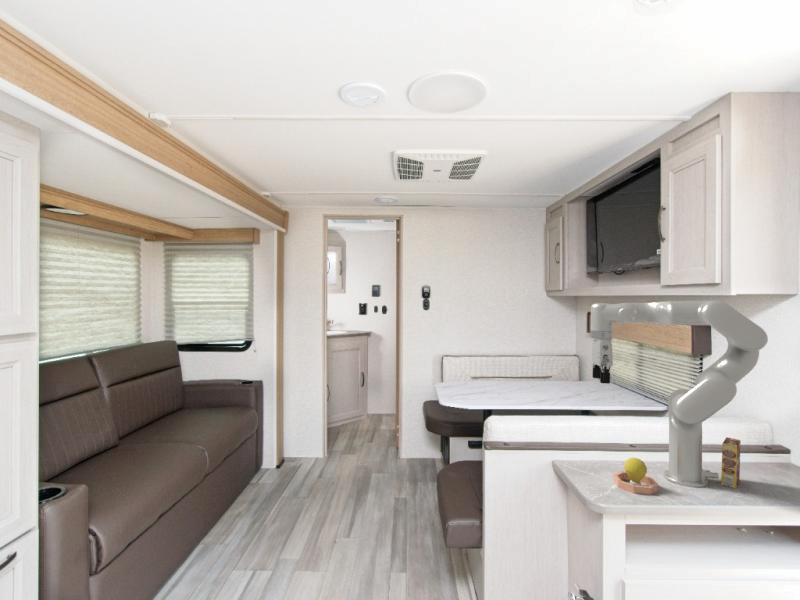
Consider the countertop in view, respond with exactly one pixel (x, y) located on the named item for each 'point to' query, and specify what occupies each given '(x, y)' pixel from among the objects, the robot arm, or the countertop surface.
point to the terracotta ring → (634, 488)
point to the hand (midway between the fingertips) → (600, 380)
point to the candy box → (730, 462)
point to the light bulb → (635, 470)
